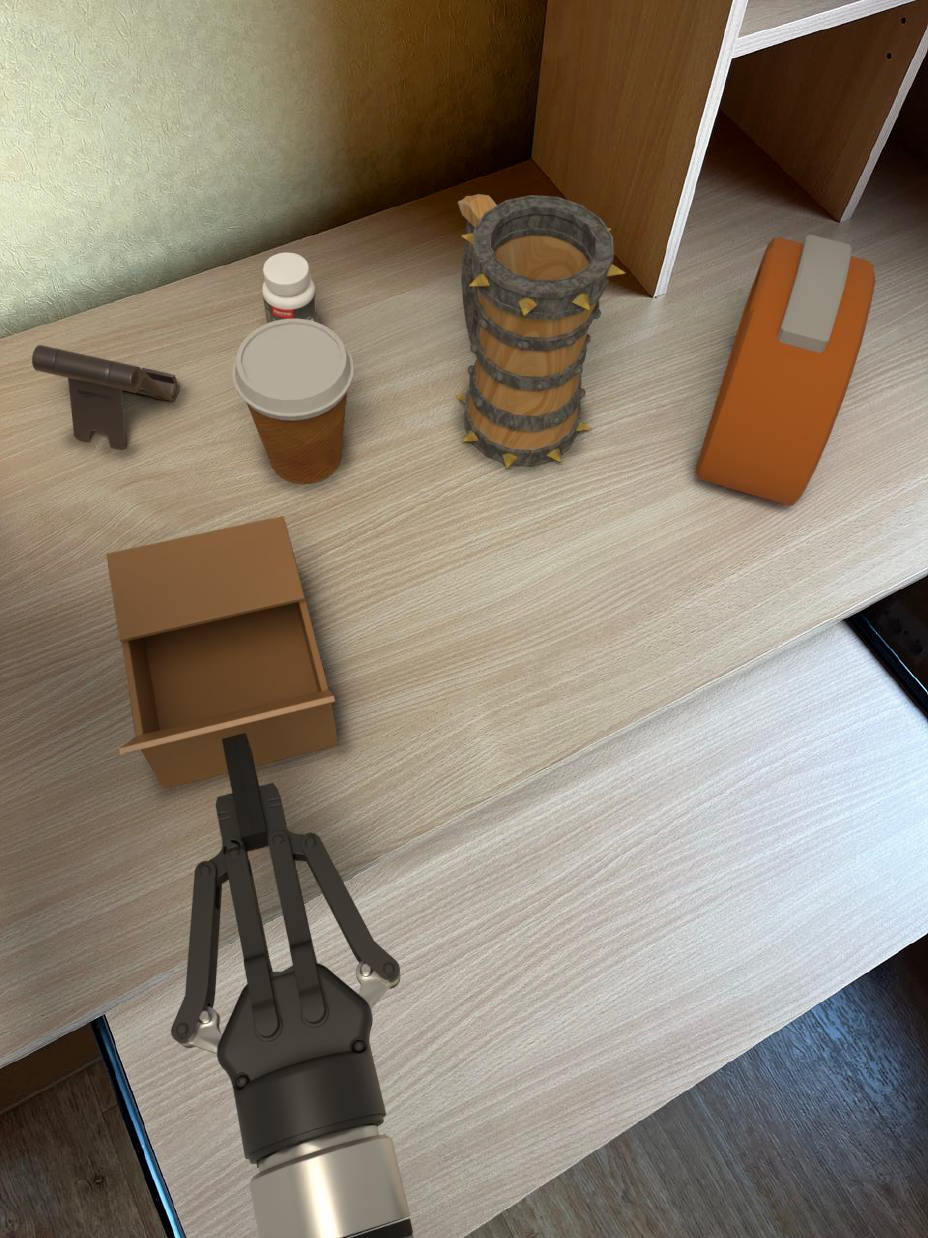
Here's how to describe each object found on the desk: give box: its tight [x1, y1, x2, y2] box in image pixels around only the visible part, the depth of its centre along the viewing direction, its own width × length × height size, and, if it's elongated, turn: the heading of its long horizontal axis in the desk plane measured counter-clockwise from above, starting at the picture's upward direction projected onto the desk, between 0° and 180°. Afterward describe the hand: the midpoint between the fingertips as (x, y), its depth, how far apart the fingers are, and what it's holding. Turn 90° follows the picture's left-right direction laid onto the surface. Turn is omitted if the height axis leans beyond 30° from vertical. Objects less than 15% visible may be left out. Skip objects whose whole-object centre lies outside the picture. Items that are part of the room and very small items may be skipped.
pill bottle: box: [261, 251, 319, 324], centre depth 96 cm, size 5×5×8 cm
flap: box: [117, 688, 336, 756], centre depth 67 cm, size 13×7×1 cm
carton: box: [106, 515, 339, 790], centre depth 78 cm, size 13×15×9 cm
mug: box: [454, 193, 626, 469], centre depth 88 cm, size 13×17×20 cm
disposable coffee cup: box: [231, 319, 355, 485], centre depth 88 cm, size 10×10×12 cm
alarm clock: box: [695, 234, 876, 506], centre depth 90 cm, size 23×9×17 cm, turn 161°
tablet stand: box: [31, 344, 179, 451], centre depth 91 cm, size 9×8×8 cm
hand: (237, 744), depth 66 cm, fingers closed
